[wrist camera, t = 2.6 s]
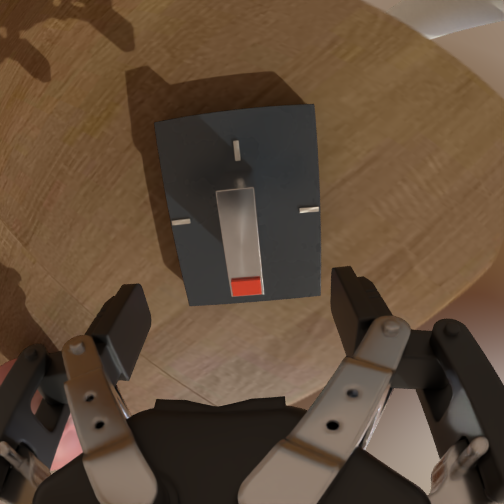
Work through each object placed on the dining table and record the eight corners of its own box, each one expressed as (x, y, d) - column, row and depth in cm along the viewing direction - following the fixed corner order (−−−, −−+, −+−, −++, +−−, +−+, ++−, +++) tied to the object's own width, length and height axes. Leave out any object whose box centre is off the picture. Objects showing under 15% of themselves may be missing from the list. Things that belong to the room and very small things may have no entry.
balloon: (149, 392, 34) (120, 497, 20) (71, 414, 39) (41, 486, 25) (62, 304, 29) (-10, 405, 15) (4, 350, 33) (-43, 419, 19)
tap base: (163, 121, 21) (153, 122, 19) (307, 105, 21) (314, 103, 18) (194, 290, 28) (189, 307, 25) (315, 280, 27) (321, 296, 25)
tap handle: (224, 172, 21) (214, 192, 15) (253, 168, 21) (253, 188, 15) (235, 257, 23) (231, 299, 18) (262, 254, 23) (264, 296, 18)
